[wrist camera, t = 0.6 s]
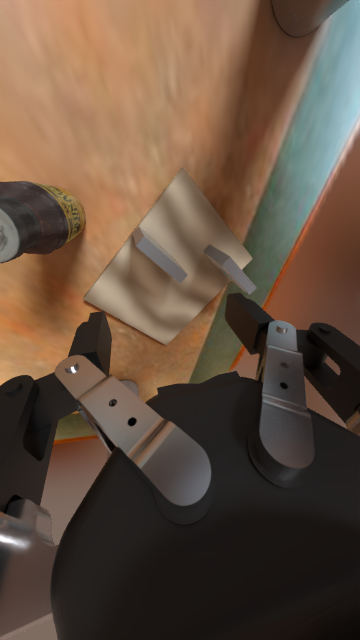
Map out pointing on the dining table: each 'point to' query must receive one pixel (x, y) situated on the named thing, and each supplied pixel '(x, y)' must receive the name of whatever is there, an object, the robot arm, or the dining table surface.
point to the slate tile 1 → (158, 255)
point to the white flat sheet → (152, 281)
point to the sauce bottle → (36, 218)
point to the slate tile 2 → (229, 269)
